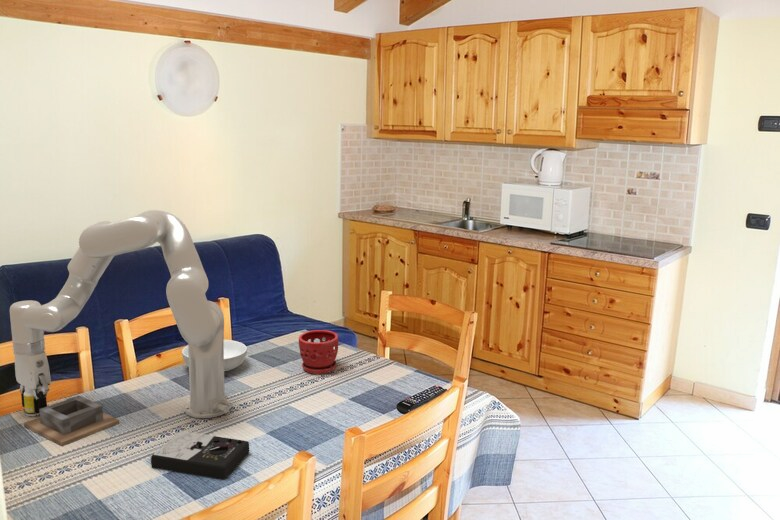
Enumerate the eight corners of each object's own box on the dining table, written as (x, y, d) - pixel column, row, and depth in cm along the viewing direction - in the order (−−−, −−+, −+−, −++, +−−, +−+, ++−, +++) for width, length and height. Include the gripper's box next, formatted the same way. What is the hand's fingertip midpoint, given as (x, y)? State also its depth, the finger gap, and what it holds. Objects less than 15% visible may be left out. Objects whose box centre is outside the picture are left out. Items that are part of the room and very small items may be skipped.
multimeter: (224, 481, 146) (224, 461, 145) (150, 469, 150) (149, 449, 149) (250, 454, 158) (249, 435, 157) (181, 443, 163) (180, 425, 162)
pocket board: (119, 423, 172) (118, 405, 171) (61, 446, 159) (60, 427, 158) (81, 406, 182) (80, 389, 181) (24, 426, 169) (22, 408, 168)
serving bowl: (238, 381, 203) (238, 360, 202) (173, 379, 203) (172, 358, 202) (253, 358, 223) (253, 339, 222) (194, 356, 224) (193, 337, 222)
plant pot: (304, 361, 222) (304, 328, 219) (341, 364, 220) (342, 330, 218) (294, 375, 209) (293, 340, 207) (333, 378, 207) (333, 343, 205)
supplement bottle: (36, 417, 174) (33, 388, 172) (21, 415, 175) (18, 386, 173) (48, 410, 179) (46, 382, 177) (34, 408, 180) (31, 380, 178)
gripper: (60, 349, 171) (65, 411, 175) (26, 336, 181) (32, 396, 184) (31, 356, 165) (37, 421, 169) (-2, 343, 175) (4, 405, 178)
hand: (34, 407), depth 177 cm, fingers open, 5 cm apart
